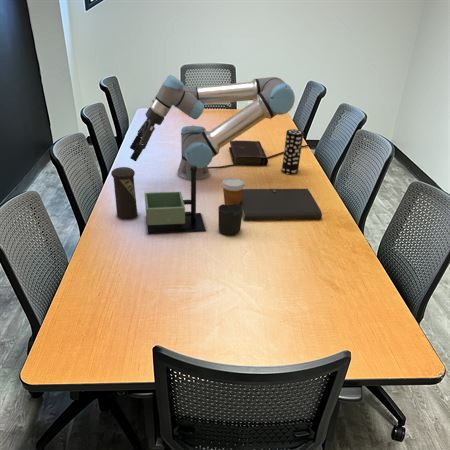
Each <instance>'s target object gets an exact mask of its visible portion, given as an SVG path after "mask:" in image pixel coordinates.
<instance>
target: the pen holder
mask: <svg viewBox="0 0 450 450" xmlns="http://www.w3.org/2000/svg"><path fill="white" fill-rule="evenodd" d="M242 212H243V208H242V207H241V206H240V205H238V204H232V205H225V204H224V203H223V204H220V205H218V232H219V233H220V234H221V235H223V236H225V237H226V236H227V237H234V236H237V235H238V234H240V233H241V228H242V220H243V216H242Z"/></svg>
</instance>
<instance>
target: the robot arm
mask: <svg viewBox="0 0 450 450" xmlns="http://www.w3.org/2000/svg"><path fill="white" fill-rule="evenodd" d="M295 97H296V96H295V92H294V90H293V89H292V87H291V86H290V85H289V84H288V83H286V82H285V81H284V80H283V79H282V78H280V77H277V76H270V77H261V78H260V77H259V78H253V79H252V80H251V81H245V82H237V83H235V82H234V83H226V84H215V85H204V86H197V87H196V86H195V87H190V86H187V85H185V84H184V82H183V81H181V80H180V79H179V78H177V77H176V76H174V75H172V74H168V75H167V76H166V78H165V80H164V81H163V82H162V84H161V86H160V87H159V89H158V92H157V94H156V95H155V97H154V99H151V104H150V107H148V109H147V111H146V112H145V117H146V119H145V121H143V124H142V125H141V126H140V127H139V129H138V130H137V134H136V135H135V138H134V139H133V141H132V143H131V144H130V146H129V149H130V150H131V151H133V152H132V154H131V156H130V157H129V158H130V160H132V161H134V162H137V161H138V159H139V157H140V156H141V154H142V152H143V151H144V150H145V149H146V147H147V146H148V143H149V141H150V139H151V137H152V135H153V133H154V131H155V130H156V127H155V125H158V126H161V125H162V124H163V122H164V121H165V117H167V115H168V114H169V112H170V110H171V108H172V107H173V106H174V108H177V109H178V111H179V110H180V111H181V112H182V113H184V114H185V115H186V116H188V117H189V118H191V119H193V120H198V119H199V118H200V117H201V116H202V114H203V113H204V110H205V105H207V106H208V105H215V104H226V103H236V102H237V103H238V102H246V101H252V102H251V103H249V104H248V105H246V106H244V108H242V109H241V110H239V111H237V112H236V113H234V114H233V115H232V116H230V117H228V118H227V119H226V120H224V121H223V122H221V123H220V124H218V125H217V126H215V127H214V128H212V129H211V130H209V131H208V130H207V129H206V128H205V127H204V126H200V125H187V126H183V127H182V128H181V130H180V140H181V141H180V143H181V144H180V145H181V150H180V151H181V158H180V163H179V166H178V167H177V175H178V176H179V177H180V178H181V179H184V180H187V181H191V171H190V167H191V166H192V165H195V166H196V167H197V171H196V181H202V180H204V179H207V178H208V177H209V175H210V169H213V170H214V169H224V168H229V167H234V166H235V165H239V164H231V163H230V164H226V165H220V166H209V165H210V164H211V162H212V160H213V158H214V157H216V156H218V154H219V153H220V149H221V148H223V147H224V146H226V145H227V144H230V141H234V140H236V138H238V137H239V136H241V135H242V134H244V133H245V132H247V131H249V130H250V129H252V128H253V127H255V126H257V124H259V123H260V122H262V121H263V120H265V119H269V120H271V119H273V118H274V117H276V116H277V115H278V116H283V115H286V114H287V113H289V112H291V110H292V108H293V107H294V104H295V100H296V98H295ZM306 147H314V148H316V145H315V144H314V143H309V144H304V145H302V148H306ZM282 154H284V151H281V152H278V153H276V154H273V155H269V156H267V158H268V159H271V158H274V157H277V156H279V155H282Z"/></svg>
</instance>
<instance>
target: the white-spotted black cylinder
mask: <svg viewBox="0 0 450 450" xmlns="http://www.w3.org/2000/svg"><path fill="white" fill-rule="evenodd" d="M304 134H305V133H304V131H302V130H300V129H292V128H291V129H288V130H286V132H285V142H284V150H283V152H284V153H283V156H282V166H281V172H282V173H283V174H285V175H291V176H292V175H297V174H298V173H299V167H300V161H301V154H302V148H303V147H302V146H303V141H304Z"/></svg>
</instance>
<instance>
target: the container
mask: <svg viewBox="0 0 450 450" xmlns="http://www.w3.org/2000/svg"><path fill="white" fill-rule="evenodd" d="M135 174H136V172H135V170H134V169H133V168H131V167H127V166H121V167H120V166H119V167H115V168H114V169H112V170H111V172H110V175H111V177H112V179H113V187H114V188H113V189H114V197H115V209H116V216H117V218H118V219H119V220H122V221H132V220H135V219H137V218H138V206H137V197H136V196H137V195H136V188H135Z"/></svg>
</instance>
